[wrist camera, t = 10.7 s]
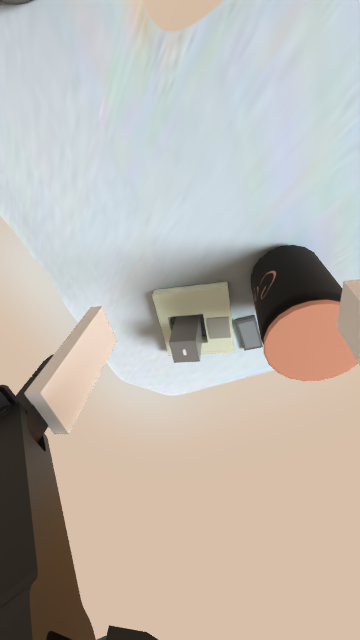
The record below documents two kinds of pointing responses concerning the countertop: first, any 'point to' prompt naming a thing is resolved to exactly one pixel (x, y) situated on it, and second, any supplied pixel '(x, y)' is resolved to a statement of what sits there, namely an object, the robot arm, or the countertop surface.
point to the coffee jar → (299, 315)
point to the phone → (249, 332)
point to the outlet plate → (198, 301)
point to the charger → (186, 338)
